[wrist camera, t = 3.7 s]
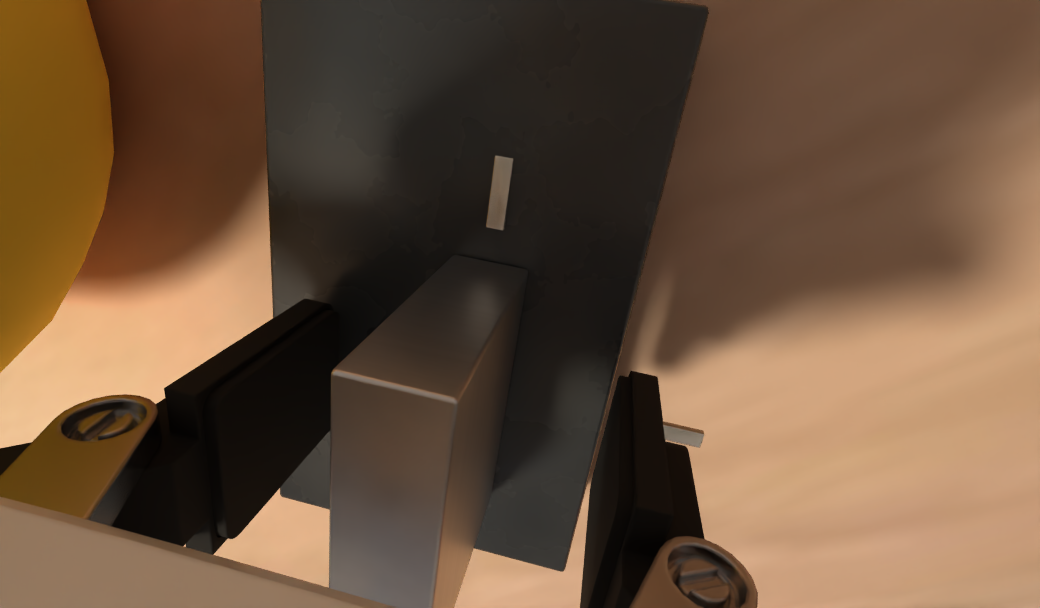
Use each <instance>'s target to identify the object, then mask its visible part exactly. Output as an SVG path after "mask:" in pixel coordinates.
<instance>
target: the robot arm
mask: <svg viewBox="0 0 1040 608" xmlns="http://www.w3.org/2000/svg"><path fill="white" fill-rule="evenodd" d="M339 337H340V316H339V314H338V312H335V311H334V310H333V307H332V305H331V304H328V303H324V302H319V301H315V300H310V299H303V300H301V301H300V302H298V303H296V304H295V305H293V306H292V307H290V308H289V309H287V310H286V311H284V312H282V313H281V314H279V315H278V316H276V317H275V318H273V319H271V320H270V321H268V322H267V323H265V324H264V325H262V326H261V327H259V328H257V329H256V330H254V331H253V332H251V333H250V334H248V335H247V336H245V337H243V338H242V339H240V340H239V341H237V342H236V343H234V344H232V345H231V346H229V347H228V348H226V349H225V350H223V351H222V352H220V353H218V354H217V355H215V356H214V357H212V358H211V359H209V360H208V361H206V362H204V363H203V364H201V365H200V366H198V367H197V368H195V369H193V370H192V371H190V372H189V373H187V374H186V375H184V376H183V377H181V378H179V379H178V380H176V381H175V382H173V383H172V384H170V385H169V386H167V387H165V388H164V391H165V399H163V400H162V401H160V402H159V403H157V404H155V403H154V402H152V401H151V400H150V399H147V398H144V397H141V396H136V395H111V396H105V397H100V398H95V399H92V400H89V401H86V402H83V403H80V404H77V405H75V406H73V407H72V408H70V409H68V410H66V411H64V412H63V413H61V414H60V415H59V416H58V417H56V418H55V419H54V420H53V421H52V422H51V423H50V424H49V425H48V426H47V427H46V428H45V429H44V430H43V431H42V433H41V434H40V435H39V436H38V437H37V438H36V439H35V440H34V441H33V442H31V443H26V444H21V445H16V446H11V447H6V448H1V449H0V608H397V607H393V606H390V605H386V604H383V603H380V602H376V601H373V600H369V599H366V598H362V597H359V596H355V595H352V594H348V593H345V592H341V591H338V590H334V589H331V588H327V587H324V586H320V585H317V584H313V583H310V582H306V581H303V580H299V579H296V578H292V577H289V576H285V575H282V574H278V573H275V572H271V571H268V570H264V569H261V568H257V567H254V566H250V565H247V564H243V563H240V562H236V561H233V560H229V559H226V558H222V557H219V556H215V555H213V554H214V553H215V552H216V551H217V550H218V549H219V548H220V546H221V545H222V544H223V543H224V542H225V541H226V540H227V539H228V538H229V539H233V538H235V537H237V536H238V535H239V534H240V533H241V532H242V531H243V529H244V528H245V527H246V526H247V525H248V524H249V522H250V521H251V520H252V519H253V518H254V517H255V516H256V514H257V513H258V512H259V511H260V510H261V509H262V508H263V506H264V505H265V504H266V503H267V502H268V501H269V500H270V498H271V497H272V496H273V495H274V494H275V493H276V492H277V490H278V489H279V488H280V487H281V486H282V485H283V484H284V482H285V481H286V480H287V479H288V478H289V477H290V476H291V474H292V473H293V472H294V471H295V470H296V469H297V467H298V466H299V465H300V464H301V463H302V462H303V461H304V459H305V458H306V457H307V456H308V455H309V454H310V453H311V451H312V450H313V449H314V448H315V447H316V446H317V445H318V443H319V442H320V441H321V440H322V439H323V438H324V437H325V435H326V434H327V433H328V432H329V431H330V430H331V373H332V371H333V369H334V368H335V367H336V366H337V365H338V364H339ZM185 544H186V547H183V546H184V545H185ZM190 548H191V549H190ZM757 604H758V592H757V589H756V587H755V584H754V581H753V579H752V577H751V576H750V574H749V573H748V571H747V570H746V568H745V567H744V566H743V565H742V564H741V563H740V562H739V561H738V560H737V559H736V558H735V557H734V556H733V555H732V554H731V553H729V552H728V551H726V550H725V549H723V548H722V547H720V546H719V545H717V544H714V543H712V542H710V541H707V540H705V539H704V534H703V529H702V523H701V518H700V512H699V507H698V501H697V496H696V490H695V485H694V479H693V474H692V468H691V463H690V457H689V452H688V449H687V447H685V446H682V445H678V444H674V443H670V442H665V435H664V427H663V418H662V410H661V402H660V393H659V385H658V378H657V377H656V376H652V375H647V374H643V373H638V372H634V371H631V372H630V373H629V376H628V377H625V376H621V375H620V376H619V378H618V381H617V385H616V389H615V392H614V396H613V400H612V404H611V408H610V411H609V415H608V419H607V423H606V427H605V431H604V434H603V438H602V442H601V446H600V450H599V453H598V457H597V461H596V465H595V469H594V473H593V477H592V482H591V488H590V497H589V509H588V520H587V532H586V544H585V556H584V568H583V580H582V592H581V603H580V608H757Z"/></svg>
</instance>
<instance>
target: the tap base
mask: <svg viewBox="0 0 1040 608" xmlns="http://www.w3.org/2000/svg"><path fill="white" fill-rule="evenodd" d="M708 14H709V9H708V7H706V6H704V5H698V4H691V3H684V2H677V1H670V0H261V21H262V46H263V71H264V96H265V122H266V147H267V172H268V197H269V222H270V248H271V273H272V298H273V318H275V317H276V316H278V315H279V314H281V313H282V312H284V311H286V310H287V309H289V308H290V307H292V306H293V305H295V304H296V303H298V302H300V301H301V300H303V299H310V300H315V301H319V302H324V303H328V304H331V305H332V307H333V310H334V311H335V312H338V314H339V316H340V337H339V363H340V362H341V361H343V360H344V359H345V358H346V357H347V356H348V355H349V354H350V353H351V352H352V351H353V350H354V349H355V348H356V347H357V346H358V345H359V344H360V343H361V342H363V341H364V340H365V339H366V338H367V337H368V336H369V335H370V334H371V333H372V332H373V331H374V330H375V329H376V328H377V327H378V326H379V325H380V324H381V323H383V322H384V321H385V320H386V319H387V318H388V317H389V316H390V315H391V314H392V313H393V312H394V311H395V310H396V309H397V308H398V307H399V306H400V305H402V304H403V303H404V302H405V301H406V300H407V299H408V298H409V297H410V296H411V295H412V294H413V293H414V292H415V291H416V290H417V289H418V288H419V287H420V286H422V285H423V284H424V283H425V282H426V281H427V280H428V279H429V278H430V277H431V276H432V275H433V274H434V273H435V272H436V271H437V270H438V269H439V268H441V267H442V266H443V265H444V264H445V263H446V262H447V261H448V260H449V259H450V258H451V257H452V256H453V255H459V256H464V257H469V258H474V259H478V260H483V261H488V262H493V263H498V264H503V265H508V266H512V267H517V268H522V269H526V270H528V278H527V283H526V289H525V295H524V301H523V307H522V313H521V319H520V325H519V331H518V337H517V343H516V349H515V355H514V361H513V367H512V373H511V379H510V385H509V391H508V397H507V403H506V409H505V415H504V421H503V427H502V433H501V439H500V445H499V451H498V457H497V463H496V469H495V475H494V481H493V487H492V493H491V497H490V500H489V503H488V506H487V509H486V512H485V515H484V518H483V521H482V524H481V527H480V530H479V533H478V536H477V539H476V542H475V545H474V548H475V549H479V550H483V551H486V552H490V553H494V554H498V555H501V556H505V557H509V558H513V559H516V560H520V561H524V562H527V563H531V564H535V565H539V566H542V567H546V568H550V569H554V570H557V571H564V569H565V567H566V563H567V559H568V555H569V552H570V548H571V544H572V540H573V536H574V532H575V528H576V525H577V521H578V517H579V513H580V509H581V505H582V501H583V498H584V494H585V490H586V486H587V482H588V478H589V474H590V470H591V467H592V463H593V459H594V455H595V451H596V447H597V443H598V440H599V436H600V432H601V428H602V424H603V420H604V416H605V412H606V409H607V405H608V401H609V397H610V393H611V389H612V385H613V382H614V378H615V374H616V370H617V366H618V362H619V358H620V354H621V351H622V347H623V343H624V339H625V335H626V331H627V327H628V324H629V320H630V316H631V312H632V308H633V304H634V300H635V296H636V293H637V289H638V285H639V281H640V277H641V273H642V269H643V266H644V262H645V258H646V254H647V250H648V246H649V242H650V238H651V235H652V231H653V227H654V223H655V219H656V215H657V211H658V208H659V204H660V200H661V196H662V192H663V188H664V184H665V181H666V177H667V173H668V169H669V165H670V161H671V157H672V153H673V150H674V146H675V142H676V138H677V134H678V130H679V126H680V123H681V119H682V115H683V111H684V107H685V103H686V99H687V95H688V92H689V88H690V84H691V80H692V76H693V72H694V68H695V65H696V61H697V57H698V53H699V49H700V45H701V41H702V37H703V34H704V30H705V26H706V22H707V18H708ZM663 427H664V435H665V440H669V441H673V442H677V443H681V444H686V445H690V446H694V447H698V448H700V446H701V443H702V440H703V437H704V431H703V430H699V429H694V428H690V427H686V426H681V425H677V424H673V423H668V422H664V421H663ZM330 433H331V430H330V431H329V432H328V433H327V434H326V435H325V437H324V438H323V439H322V440H321V441H320V442H319V443H318V445H317V446H316V447H315V448H314V449H313V450H312V451H311V453H310V454H309V455H308V456H307V457H306V458H305V459H304V461H303V462H302V463H301V464H300V465H299V466H298V467H297V469H296V470H295V471H294V472H293V473H292V474H291V476H290V477H289V478H288V479H287V480H286V481H285V482H284V484H283V485H282V486H281V487H280V495H281V496H282V497H285V498H289V499H293V500H296V501H300V502H304V503H307V504H311V505H315V506H319V507H322V508H326V509H330Z"/></svg>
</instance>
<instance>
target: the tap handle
mask: <svg viewBox="0 0 1040 608" xmlns="http://www.w3.org/2000/svg"><path fill="white" fill-rule="evenodd" d="M527 278H528V270H526V269H522V268H517V267H512V266H508V265H503V264H498V263H493V262H488V261H483V260H478V259H474V258H469V257H464V256H459V255H453V256H452V257H451V258H450V259H449V260H448V261H447V262H446V263H445V264H444V265H443V266H442V267H441V268H439V269H438V270H437V271H436V272H435V273H434V274H433V275H432V276H431V277H430V278H429V279H428V280H427V281H426V282H425V283H424V284H423V285H422V286H420V287H419V288H418V289H417V290H416V291H415V292H414V293H413V294H412V295H411V296H410V297H409V298H408V299H407V300H406V301H405V302H404V303H403V304H402V305H400V306H399V307H398V308H397V309H396V310H395V311H394V312H393V313H392V314H391V315H390V316H389V317H388V318H387V319H386V320H385V321H384V322H383V323H381V324H380V325H379V326H378V327H377V328H376V329H375V330H374V331H373V332H372V333H371V334H370V335H369V336H368V337H367V338H366V339H365V340H364V341H363V342H361V343H360V344H359V345H358V346H357V347H356V348H355V349H354V350H353V351H352V352H351V353H350V354H349V355H348V356H347V357H346V358H345V359H344V360H343V361H341V362H340V363H339V364H338V365H337V366H336V367H335V368H334V369H333V371H332V373H331V433H330V543H329V588H331V589H334V590H338V591H341V592H345V593H348V594H352V595H355V596H359V597H362V598H366V599H369V600H373V601H376V602H380V603H383V604H386V605H390V606H393V607H397V608H454V606H455V603H456V600H457V597H458V594H459V591H460V588H461V585H462V582H463V579H464V576H465V573H466V570H467V567H468V564H469V561H470V557H471V554H472V551H473V548H474V545H475V542H476V539H477V536H478V533H479V530H480V527H481V524H482V521H483V518H484V515H485V512H486V509H487V506H488V503H489V500H490V497H491V493H492V487H493V481H494V475H495V469H496V463H497V457H498V451H499V445H500V439H501V433H502V427H503V421H504V415H505V409H506V403H507V397H508V391H509V385H510V379H511V373H512V367H513V361H514V355H515V349H516V343H517V337H518V331H519V325H520V319H521V313H522V307H523V301H524V295H525V289H526V283H527Z"/></svg>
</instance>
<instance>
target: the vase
mask: <svg viewBox="0 0 1040 608" xmlns="http://www.w3.org/2000/svg"><path fill="white" fill-rule="evenodd" d="M113 156H114V144H113V131H112V117H111V104H110V90H109V79H108V76H107V72H106V69H105V65H104V61H103V58H102V54H101V51H100V47H99V44H98V40H97V37H96V33H95V30H94V26H93V23H92V19H91V16H90V12H89V8H88V5H87V1H86V0H0V373H1V371H2V370H3V369H4V368H5V367H6V366H7V365H8V364H9V363H10V362H11V361H12V360H13V359H14V358H15V357H16V356H17V355H18V354H19V353H20V352H21V351H22V350H23V349H24V348H25V347H26V346H27V345H28V344H29V343H30V342H31V341H32V340H33V339H34V338H35V337H36V336H37V335H38V334H39V333H40V332H41V331H42V330H43V329H44V328H45V327H46V326H47V325H48V324H49V323H50V322H51V321H52V319H53V317H54V316H55V314H56V312H57V310H58V308H59V307H60V305H61V303H62V301H63V299H64V298H65V296H66V294H67V292H68V290H69V289H70V287H71V285H72V283H73V281H74V280H75V278H76V276H77V274H78V273H79V271H80V269H81V267H82V265H83V263H84V260H85V258H86V255H87V252H88V250H89V247H90V245H91V242H92V240H93V237H94V235H95V232H96V230H97V227H98V225H99V222H100V219H101V217H102V214H103V212H104V207H105V201H106V195H107V190H108V184H109V179H110V173H111V168H112V162H113Z"/></svg>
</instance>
